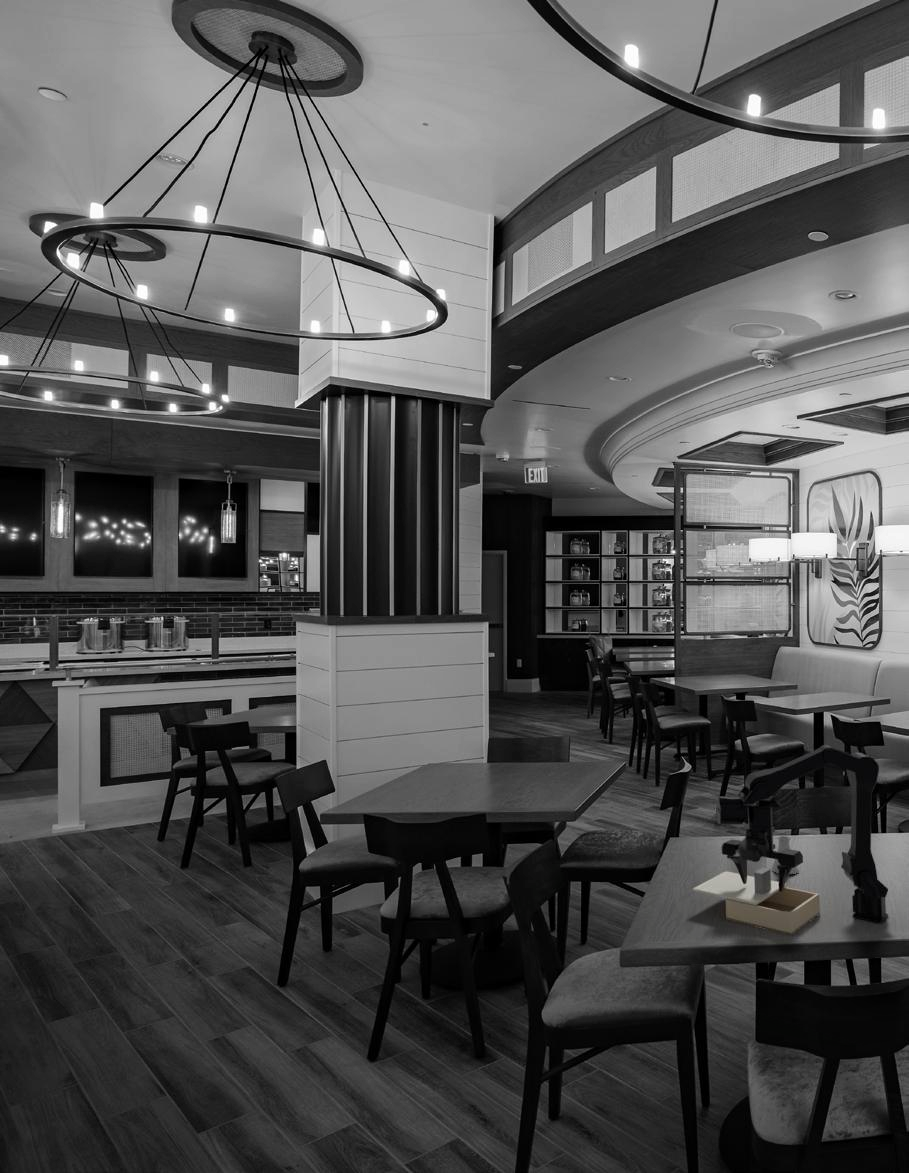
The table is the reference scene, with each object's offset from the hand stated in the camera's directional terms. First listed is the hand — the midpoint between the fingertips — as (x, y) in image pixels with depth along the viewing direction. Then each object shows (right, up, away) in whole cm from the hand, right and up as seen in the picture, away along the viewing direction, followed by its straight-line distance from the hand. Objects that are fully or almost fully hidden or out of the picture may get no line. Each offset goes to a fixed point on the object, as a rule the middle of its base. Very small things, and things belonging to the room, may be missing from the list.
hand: (762, 887), depth 211 cm
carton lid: (-4, -2, +4) cm, 6 cm away
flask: (+19, -8, +33) cm, 39 cm away
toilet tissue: (+6, -8, +29) cm, 30 cm away
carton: (+2, -7, -2) cm, 7 cm away
